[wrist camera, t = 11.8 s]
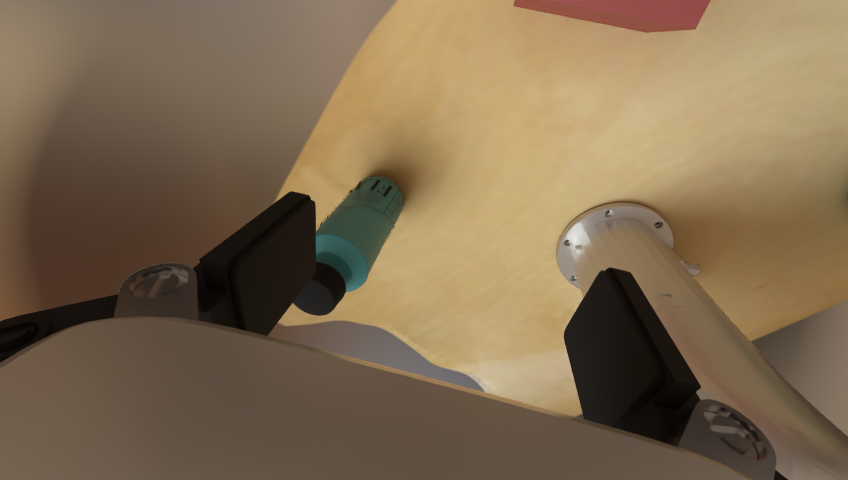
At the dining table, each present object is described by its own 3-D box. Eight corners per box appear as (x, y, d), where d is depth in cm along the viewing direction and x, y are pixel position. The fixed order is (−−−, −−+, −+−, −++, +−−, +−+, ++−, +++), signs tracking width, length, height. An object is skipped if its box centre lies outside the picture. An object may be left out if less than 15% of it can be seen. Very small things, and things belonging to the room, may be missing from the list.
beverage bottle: (407, 172, 39) (346, 268, 22) (407, 220, 43) (354, 335, 26) (356, 167, 40) (260, 257, 23) (360, 215, 44) (278, 323, 27)
